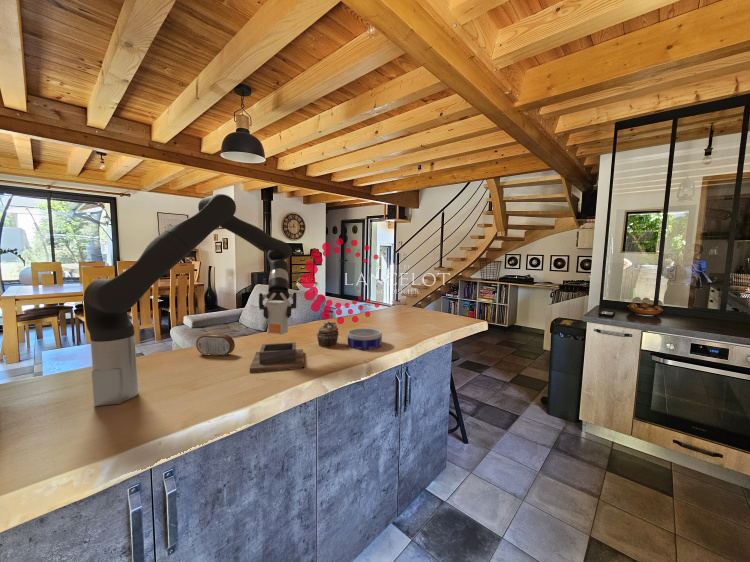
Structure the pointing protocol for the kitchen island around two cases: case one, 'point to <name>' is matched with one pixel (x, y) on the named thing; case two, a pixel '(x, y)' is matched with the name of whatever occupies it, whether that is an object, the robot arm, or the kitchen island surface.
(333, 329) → the cupcake
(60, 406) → the kitchen island surface
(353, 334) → the dog bowl
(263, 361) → the bottle holder
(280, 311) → the skincare box
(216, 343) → the tin
